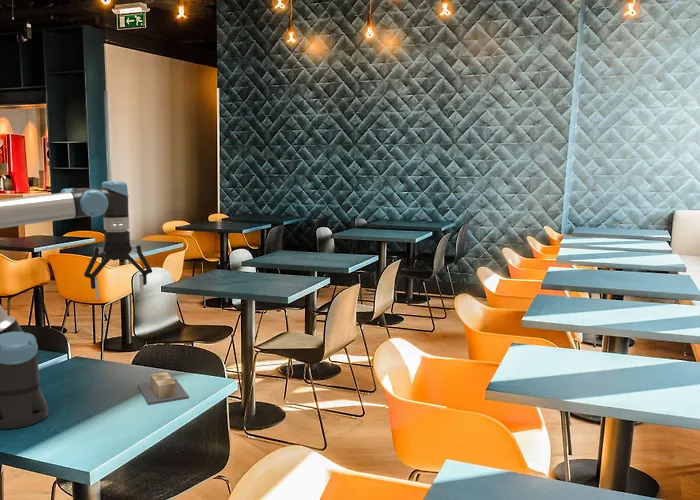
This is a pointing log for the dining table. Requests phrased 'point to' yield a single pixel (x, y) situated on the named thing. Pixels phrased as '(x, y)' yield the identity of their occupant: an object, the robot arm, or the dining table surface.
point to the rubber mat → (153, 398)
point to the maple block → (163, 385)
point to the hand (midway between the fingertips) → (119, 297)
